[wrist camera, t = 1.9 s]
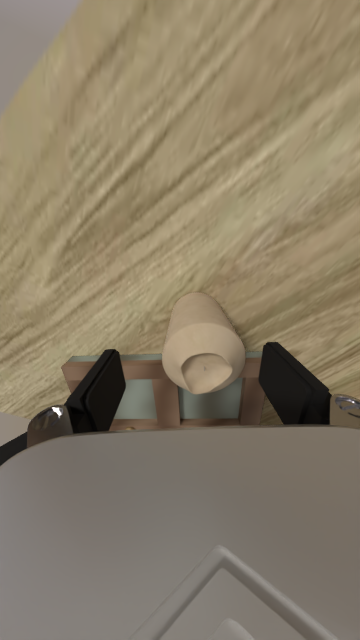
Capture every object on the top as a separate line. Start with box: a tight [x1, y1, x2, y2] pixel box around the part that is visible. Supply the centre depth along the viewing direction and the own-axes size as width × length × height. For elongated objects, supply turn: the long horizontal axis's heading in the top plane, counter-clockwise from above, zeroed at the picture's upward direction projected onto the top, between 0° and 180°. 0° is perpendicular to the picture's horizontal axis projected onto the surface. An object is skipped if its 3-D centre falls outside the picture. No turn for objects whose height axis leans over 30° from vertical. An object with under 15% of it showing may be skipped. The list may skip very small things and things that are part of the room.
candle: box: [162, 292, 246, 394], centre depth 14 cm, size 6×6×10 cm
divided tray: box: [61, 352, 265, 431], centre depth 22 cm, size 24×12×3 cm, turn 93°
